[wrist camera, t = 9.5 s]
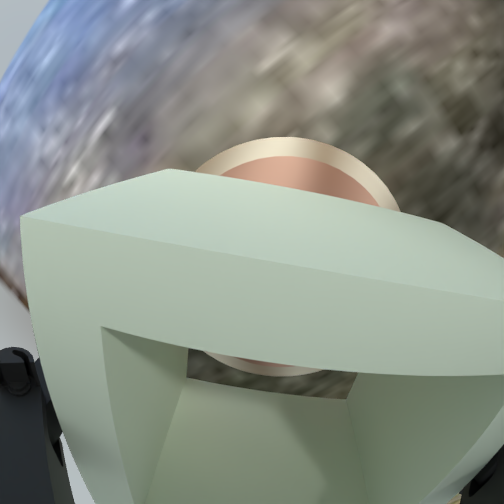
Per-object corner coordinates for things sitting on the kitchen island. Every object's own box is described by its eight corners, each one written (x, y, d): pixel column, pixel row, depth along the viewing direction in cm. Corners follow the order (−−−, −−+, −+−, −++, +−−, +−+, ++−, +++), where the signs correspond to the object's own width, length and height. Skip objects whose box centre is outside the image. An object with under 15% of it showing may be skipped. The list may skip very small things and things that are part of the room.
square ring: (442, 223, 11) (583, 313, 4) (361, 419, 15) (391, 545, 7) (169, 168, 11) (19, 215, 4) (157, 391, 15) (105, 520, 7)
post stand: (425, 170, 17) (499, 190, 10) (360, 373, 22) (383, 449, 15) (177, 120, 17) (121, 108, 10) (158, 341, 22) (121, 414, 15)
